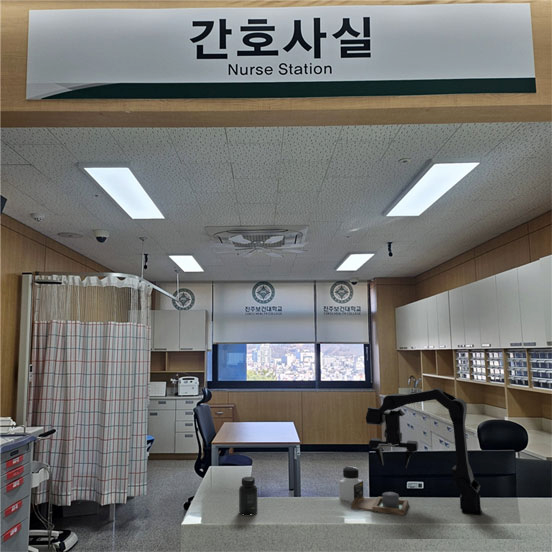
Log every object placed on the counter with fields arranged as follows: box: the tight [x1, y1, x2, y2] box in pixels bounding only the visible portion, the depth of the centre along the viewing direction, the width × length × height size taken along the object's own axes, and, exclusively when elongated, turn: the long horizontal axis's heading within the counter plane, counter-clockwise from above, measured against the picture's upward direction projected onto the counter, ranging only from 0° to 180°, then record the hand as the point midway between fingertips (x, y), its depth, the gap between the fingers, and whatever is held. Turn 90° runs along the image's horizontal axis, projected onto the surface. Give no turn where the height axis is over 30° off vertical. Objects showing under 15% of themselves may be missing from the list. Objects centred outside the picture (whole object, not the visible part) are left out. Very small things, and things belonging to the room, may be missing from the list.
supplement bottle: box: [238, 476, 259, 516], centre depth 179 cm, size 7×7×12 cm
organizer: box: [350, 496, 409, 516], centre depth 183 cm, size 19×11×2 cm, turn 67°
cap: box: [381, 491, 400, 509], centre depth 182 cm, size 6×6×5 cm
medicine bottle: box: [338, 466, 365, 503], centre depth 193 cm, size 7×7×12 cm
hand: (394, 466), depth 193 cm, fingers open, 9 cm apart
